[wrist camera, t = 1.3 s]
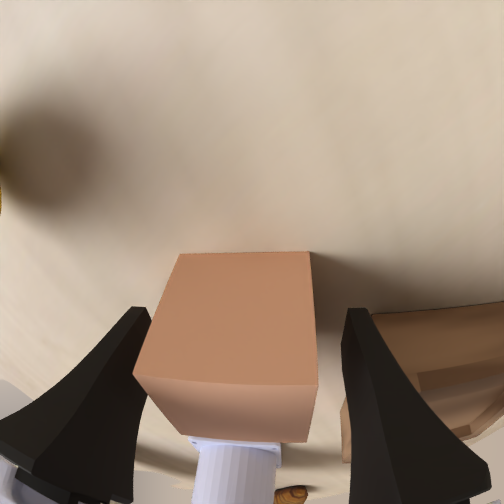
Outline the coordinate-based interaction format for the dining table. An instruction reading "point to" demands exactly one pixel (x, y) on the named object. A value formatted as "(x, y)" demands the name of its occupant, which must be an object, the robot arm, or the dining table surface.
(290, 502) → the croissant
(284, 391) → the block
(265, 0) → the dining table surface
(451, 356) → the walnut base
